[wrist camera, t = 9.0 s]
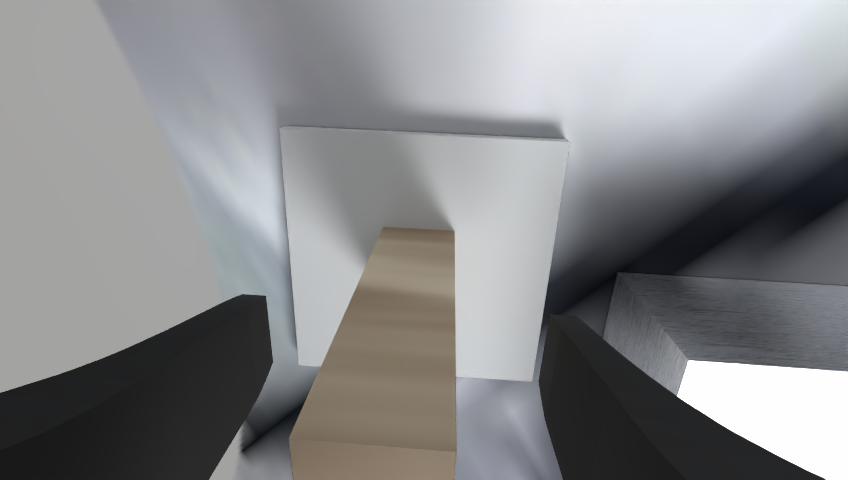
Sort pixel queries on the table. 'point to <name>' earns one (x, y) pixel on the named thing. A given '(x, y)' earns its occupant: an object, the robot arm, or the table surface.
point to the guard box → (746, 357)
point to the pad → (426, 209)
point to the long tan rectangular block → (388, 371)
